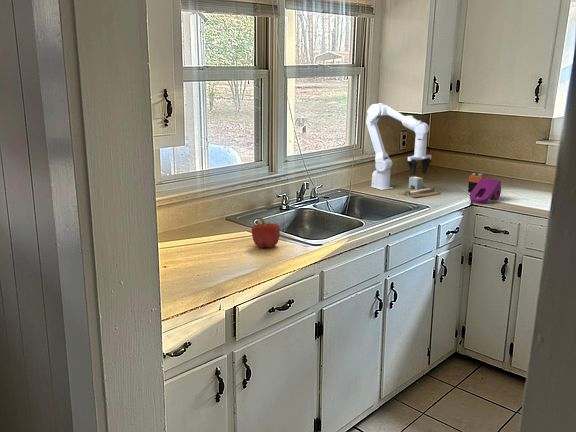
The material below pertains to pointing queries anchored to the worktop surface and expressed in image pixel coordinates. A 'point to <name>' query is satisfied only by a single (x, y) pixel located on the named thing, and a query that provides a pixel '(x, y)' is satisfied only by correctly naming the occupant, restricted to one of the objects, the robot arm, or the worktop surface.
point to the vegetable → (265, 234)
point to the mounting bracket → (486, 191)
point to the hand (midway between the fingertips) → (418, 173)
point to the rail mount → (420, 192)
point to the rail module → (415, 183)
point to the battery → (474, 181)
